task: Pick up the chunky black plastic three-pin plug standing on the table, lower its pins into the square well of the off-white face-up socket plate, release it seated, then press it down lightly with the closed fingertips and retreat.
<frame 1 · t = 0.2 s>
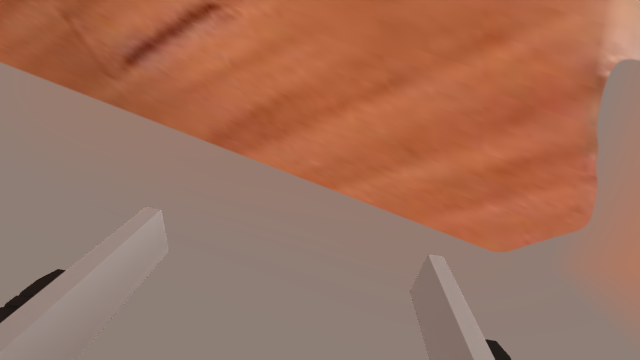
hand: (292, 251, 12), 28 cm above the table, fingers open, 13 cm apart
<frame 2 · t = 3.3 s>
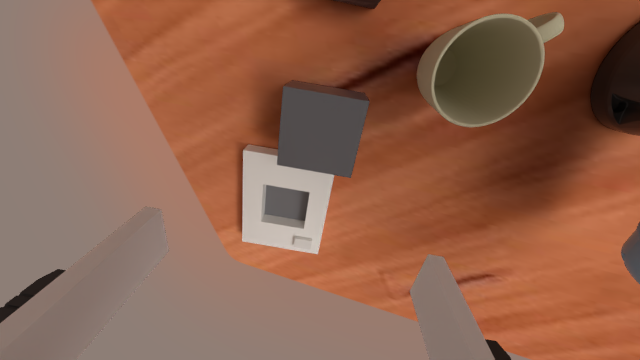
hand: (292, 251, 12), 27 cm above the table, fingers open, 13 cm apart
plug: (323, 118, 36), on the table
socket: (287, 199, 43), on the table
mug: (444, 60, 32), on the table
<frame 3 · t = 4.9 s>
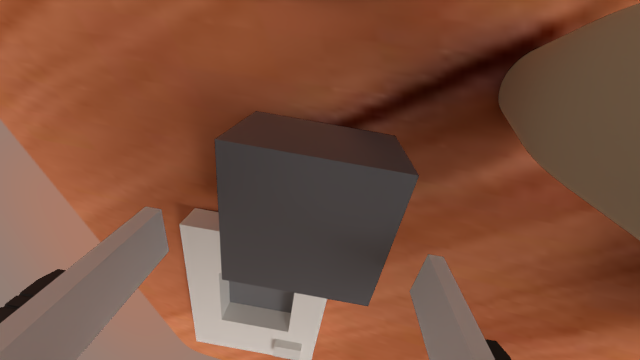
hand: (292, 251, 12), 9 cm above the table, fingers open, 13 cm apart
plug: (317, 172, 21), on the table
socket: (262, 284, 28), on the table
mug: (553, 73, 16), on the table
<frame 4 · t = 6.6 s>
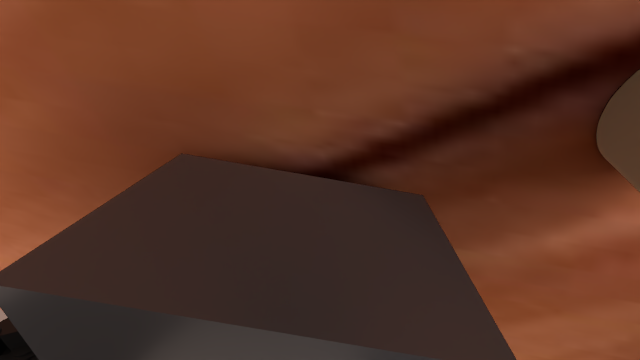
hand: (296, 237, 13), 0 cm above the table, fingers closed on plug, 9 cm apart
plug: (297, 234, 14), on the table, touching gripper
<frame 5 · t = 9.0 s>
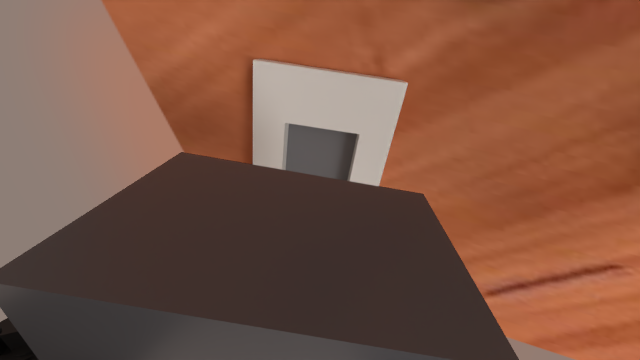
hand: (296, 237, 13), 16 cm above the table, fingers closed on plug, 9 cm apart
plug: (297, 233, 14), point 16 cm above the table, touching gripper
socket: (319, 153, 28), on the table
when the fingers open (3 cm above the table, at t = 11.5 s): plug drops 2 cm, resting on socket.
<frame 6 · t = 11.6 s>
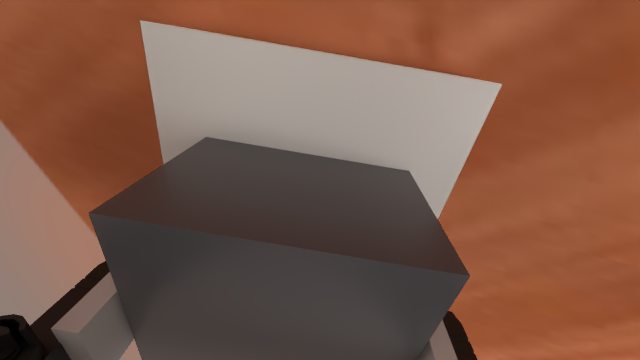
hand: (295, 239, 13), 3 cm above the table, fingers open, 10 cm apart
plug: (302, 212, 15), resting on socket
socket: (302, 208, 16), on the table
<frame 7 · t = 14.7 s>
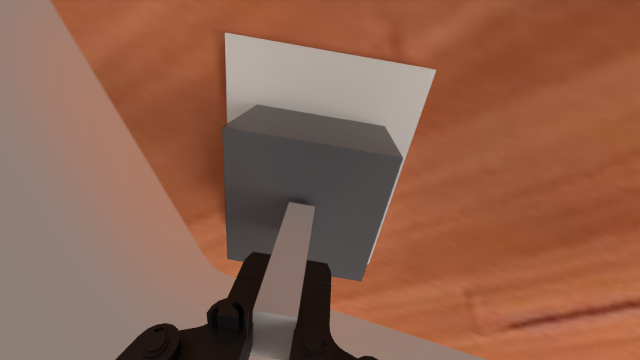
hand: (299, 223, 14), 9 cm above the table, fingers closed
plug: (314, 162, 22), resting on socket
socket: (314, 160, 22), on the table
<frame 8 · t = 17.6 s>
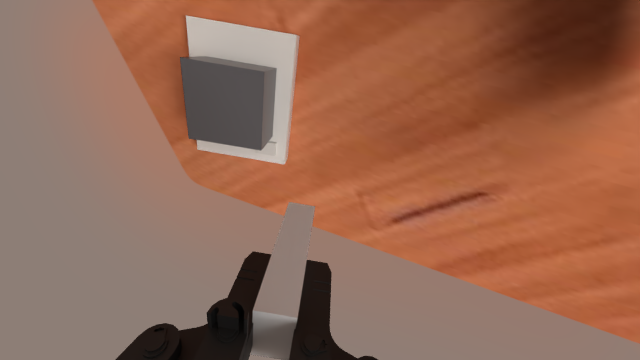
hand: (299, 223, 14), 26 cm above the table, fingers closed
plug: (246, 96, 37), resting on socket
socket: (247, 96, 37), on the table
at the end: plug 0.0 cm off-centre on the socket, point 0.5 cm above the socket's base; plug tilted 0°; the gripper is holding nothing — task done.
